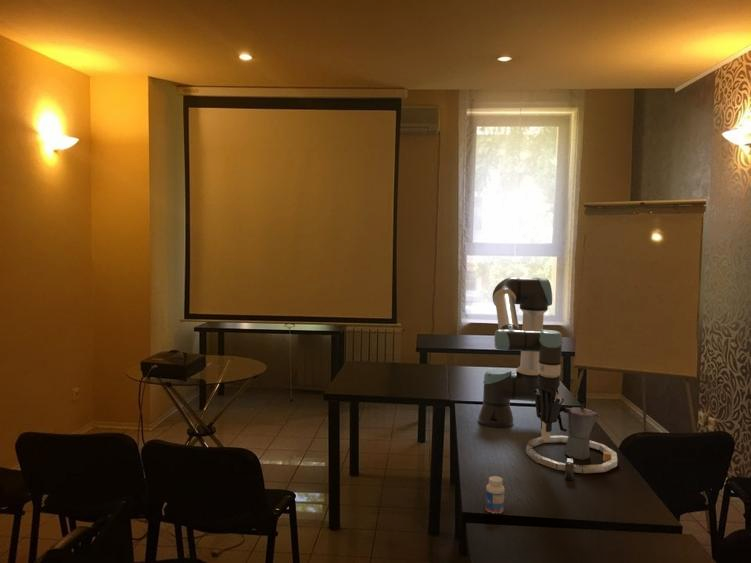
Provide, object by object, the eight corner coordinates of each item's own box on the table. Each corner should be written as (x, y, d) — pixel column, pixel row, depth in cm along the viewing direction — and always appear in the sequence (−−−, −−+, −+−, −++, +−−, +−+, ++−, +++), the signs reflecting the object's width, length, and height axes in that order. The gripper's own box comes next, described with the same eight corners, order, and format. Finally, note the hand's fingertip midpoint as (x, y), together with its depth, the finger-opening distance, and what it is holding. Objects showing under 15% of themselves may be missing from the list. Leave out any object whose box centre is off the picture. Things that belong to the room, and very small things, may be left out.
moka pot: (599, 462, 216) (602, 409, 215) (555, 458, 220) (557, 405, 218) (596, 453, 225) (598, 402, 224) (553, 449, 229) (556, 398, 228)
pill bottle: (483, 505, 180) (484, 474, 179) (500, 505, 180) (501, 474, 179) (488, 514, 174) (489, 482, 174) (506, 514, 175) (507, 482, 174)
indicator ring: (520, 472, 205) (521, 458, 205) (530, 436, 242) (531, 424, 242) (619, 487, 194) (620, 472, 194) (614, 447, 231) (615, 434, 231)
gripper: (528, 371, 212) (524, 434, 214) (554, 380, 200) (551, 447, 203) (543, 369, 215) (540, 431, 218) (570, 378, 204) (567, 444, 206)
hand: (545, 439), depth 210 cm, fingers closed
